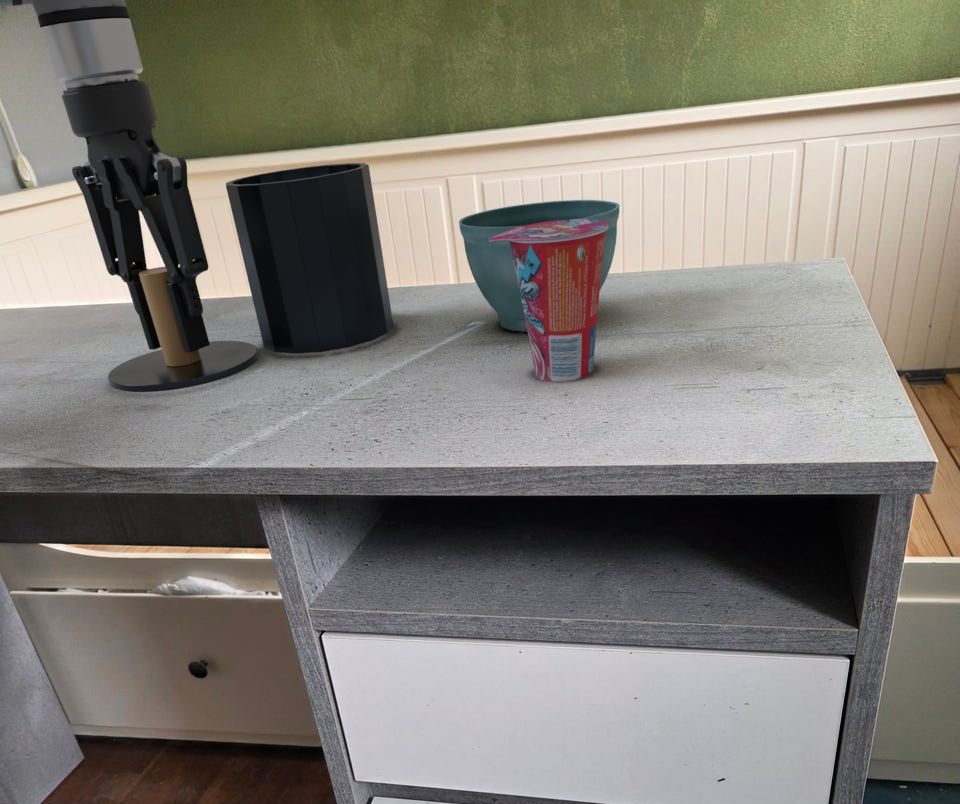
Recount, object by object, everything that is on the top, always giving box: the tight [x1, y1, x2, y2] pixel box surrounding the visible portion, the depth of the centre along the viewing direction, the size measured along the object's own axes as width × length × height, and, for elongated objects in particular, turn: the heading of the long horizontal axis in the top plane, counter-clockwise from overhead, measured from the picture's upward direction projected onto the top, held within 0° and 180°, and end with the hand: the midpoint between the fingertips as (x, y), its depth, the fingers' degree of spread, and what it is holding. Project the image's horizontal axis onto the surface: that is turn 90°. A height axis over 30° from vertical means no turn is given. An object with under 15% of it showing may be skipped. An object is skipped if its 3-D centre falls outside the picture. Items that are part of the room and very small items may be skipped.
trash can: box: [225, 162, 394, 355], centre depth 93 cm, size 14×14×16 cm
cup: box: [489, 219, 608, 383], centre depth 75 cm, size 9×8×12 cm
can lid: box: [107, 266, 260, 392], centre depth 90 cm, size 15×15×10 cm
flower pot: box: [458, 199, 621, 333], centre depth 91 cm, size 16×16×11 cm
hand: (179, 346), depth 91 cm, fingers open, 5 cm apart
